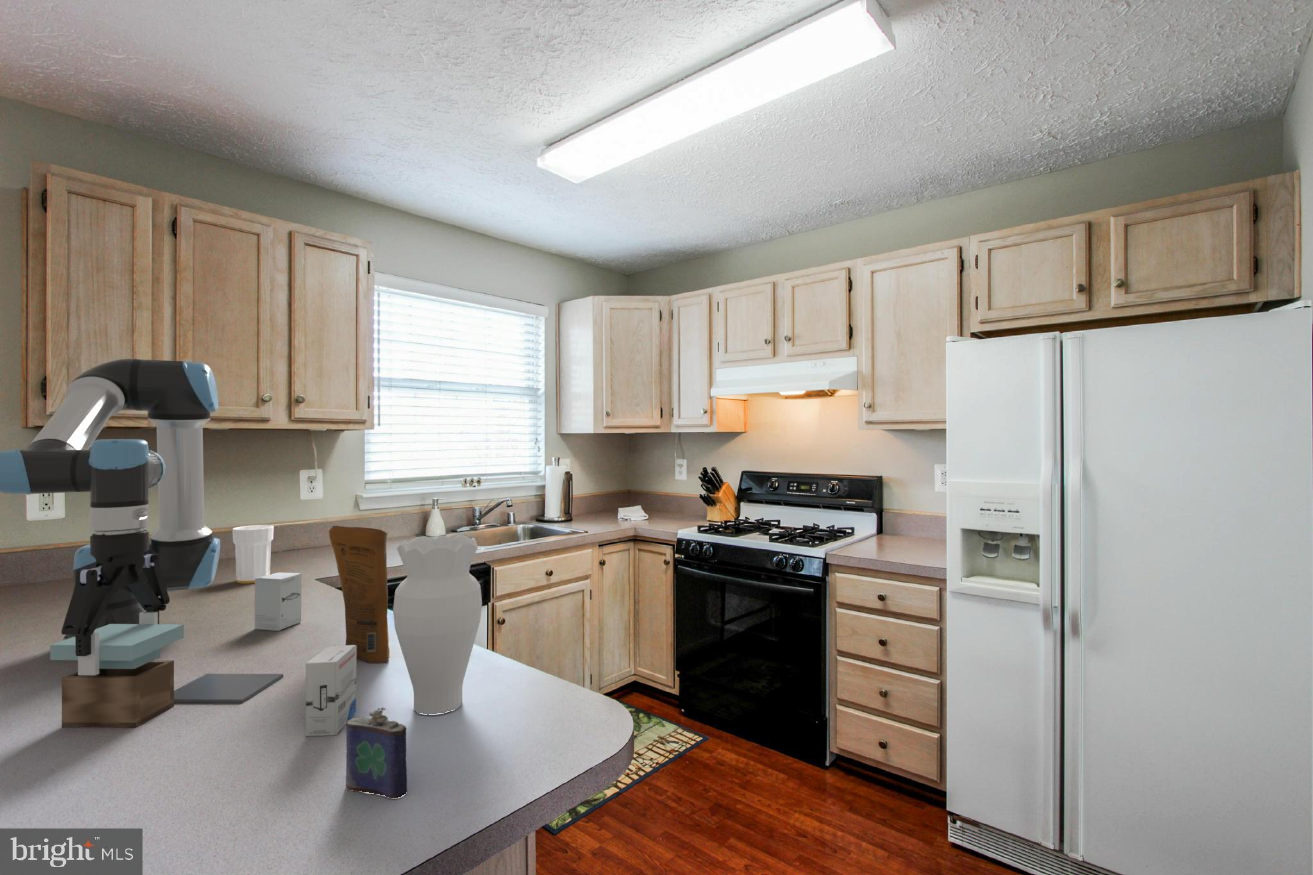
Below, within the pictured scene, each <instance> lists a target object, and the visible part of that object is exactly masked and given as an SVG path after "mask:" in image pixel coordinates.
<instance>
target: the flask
mask: <svg viewBox="0 0 1313 875" xmlns="http://www.w3.org/2000/svg"><path fill="white" fill-rule="evenodd" d="M385 710H386V708H385V707H381V708H379V707H378V708H377V709H376V710H374V711H372V712H371V711H370V712H369V714H368V715H369V716H370V717H371V718H370V717H354V718H350V719H349V720H348V721H347V723H346V724H345V733H346V734H345V736H346V738H345V739H346V742H345V743H346V745H345V746H346V748H345V750H346V752H345V753H346V754H345V756H346V759H345V760H346V762H345V763H346V766H345V767H346V768H345V788H346V789H347V790H348V791H350V790H353V791H355V792H358V791H362V792H369V793H374V795H376V794H380V795H385V796H386V797H389V798H398V797H401V796H402V795H404V794H406V792H407V793H408V788H407V787H408V783H407V782H408V774H407V772H408V767H407V727H406V725H405V724H403V723H399V722H398V721H396V720H389V717H388V716H387V715H383V711H385ZM406 795H407V794H406ZM389 798H388V799H389Z"/></svg>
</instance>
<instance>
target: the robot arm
mask: <svg viewBox="0 0 1313 875" xmlns="http://www.w3.org/2000/svg"><path fill="white" fill-rule="evenodd" d="M217 388H218V387H217V384H216V380H215V376H214V372H213V371H212V369H211V368H210V366H209V365H207V364H206V363H203V362H200V361H199V362H197V361H189V360H161V359H137V358H121V359H115V360H111V361H107V362H104V363H101V364H99V365H96V366H94V367H91V368H90V369H87V370H86V371H84V372H82V373H81V374H79V375H78V376H77V377H75V378H74V379H73V380H72V381H71V383H70V384H69V385H68V387H67V388H66V390H65V394H64V395H65V400H64V401H63V402H62V404H61V405H60V406H59V407H58V408H57V410H56V411H55V413H54V414H52V416H51V417H50V419H49V420H48V421H47V422H46V423H45V425H44V426H43V427H42V429H41V430H40V431H39V432H38V434H37V435H36V436H35V437H34V439H33V440H32V441H31V443H30V444H29V445H28V446H27V447H26V448H25V449H20V448H16V449H6V450H3V451H0V493H1V494H2V493H3V494H6V495H7V494H8V495H9V494H10V495H14V494H15V495H16V494H17V495H19V494H20V495H21V494H23V495H27V496H28V495H29V496H30V495H37V494H40V495H41V494H61V493H65V494H66V493H89V494H90V498H89V501H90V502H89V503H90V507H89V530H90V531H92V532H94V533H92V534H91V535H90V536H89V544H86V545H83V546H81V547H79V548H77V550H76V551H75V553H74V557H73V567H72V571H73V572H72V576H73V582H72V583H73V586H72V587H73V589H72V590H73V592H72V595H71V598H70V602H69V605H68V607H67V612H66V615H65V618H64V621H63V625H62V628H61V634H62V635H63V639H62V641H63V640H66V639H69V638H72V637H75V649H76V650H75V654H76V656H78V660H77V672H78V675H97V674H99V633H94V631H95V629H97V628H100V627H103V626H106V625H109V624H160V611H161V612H163V611H165V610H166V609H167V605H168V604H169V603H170V601H171V600H170V595H169V592H175V591H183V590H184V591H185V590H186V591H190V590H194V589H201V588H207V587H209V586H210V585H211V584H212V583H213V582H214V580H215V577H216V573H217V569H218V566H219V559H220V554H221V540H220V538H217V537H213V530H212V529H211V528H209V527H208V526H207V525H206V523H205V494H204V493H205V492H204V490H205V489H204V486H205V484H204V480H205V479H204V440H203V439H204V438H203V437H204V435H203V432H204V428H203V427H204V425H206V423H208V422H210V421H211V413H212V414H213V413H216V412H217V411H218V409H219V397H218V396H219V395H218V389H217ZM122 411H137V412H138V411H139V412H141V411H142V412H146V413H147V420H148V421H149V422H151V423H152V424H153V425H154V426H155V427H156V451H157V452H156V451H153V450H150V448H149V443H148V441H147V440H145V439H140V438H139V439H138V438H137V439H136V438H134V439H133V438H130V439H129V438H128V439H127V438H125V439H124V438H120V439H119V438H117V439H114V438H109V439H106V438H105V439H97V437H98V436H99V434H100V433H101V431H102V430H103V428H104V427H105V425H106V423H107V422H108V421H109V419H110V418H112V417H114V416H115V415H116V416H117V414H119V413H120V412H122ZM156 485H157V492H158V494H157V496H158V498H157V499H158V500H157V501H158V529H157V530H156V531H155V532H153V534H151V536H150V531H148V529H145V528H147V527H148V526H149V494H150V493H149V489H151V488H153V487H155V486H156Z"/></svg>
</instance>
